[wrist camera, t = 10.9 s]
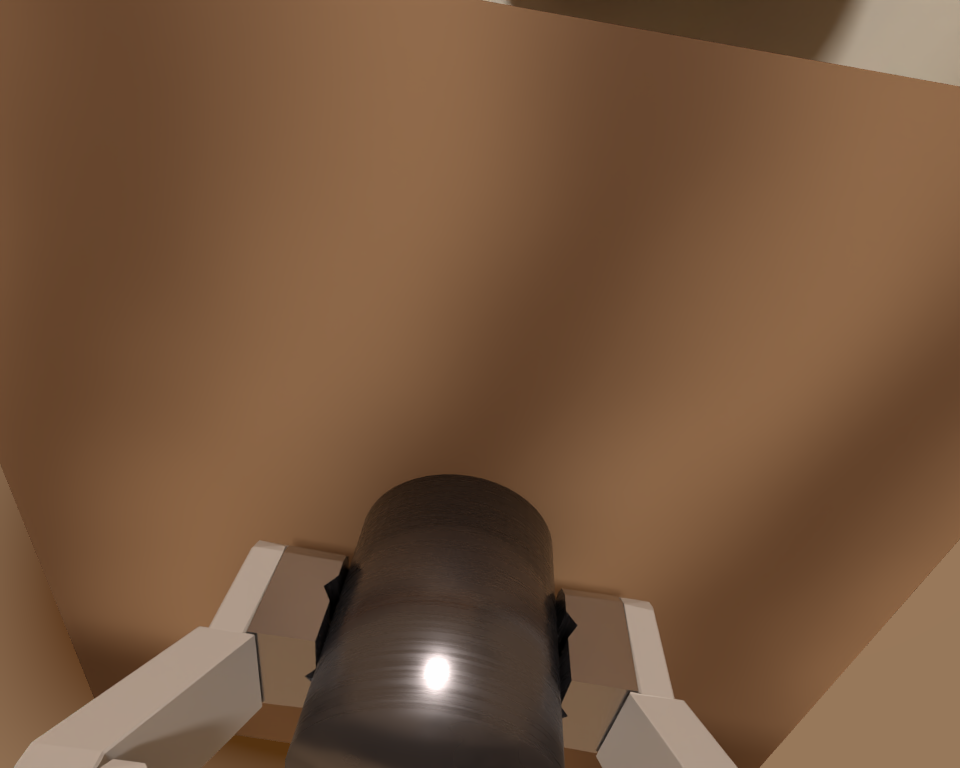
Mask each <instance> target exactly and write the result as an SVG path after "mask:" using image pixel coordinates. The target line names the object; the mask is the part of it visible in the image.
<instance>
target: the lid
mask: <svg viewBox="0 0 960 768" xmlns="http://www.w3.org/2000/svg"><path fill="white" fill-rule="evenodd" d="M0 464H1V467H2V469H3V472H4V474H5V477H6V479H7V482H8V484H9V487H10V489H11V492H12V494H13V497H14V499H15V502H16V504H17V507H18V509H19V512H20V514H21V517H22V519H23V521H24V524H25V527H26V529H27V532H28V534H29V537H30V539H31V542H32V544H33V547H34V549H35V552H36V554H37V557H38V559H39V561H40V564H41V567H42V569H43V572H44V574H45V577H46V579H47V582H48V584H49V586H50V589H51V591H52V594H53V596H54V599H55V602H56V604H57V607H58V609H59V611H60V614H61V616H62V619H63V621H64V624H65V626H66V629H67V631H68V634H69V636H70V639H71V641H72V644H73V646H74V649H75V651H76V654H77V656H78V658H79V661H80V664H81V666H82V669H83V671H84V674H85V676H86V679H87V681H88V684H89V686H90V689H91V691H92V694H93V696H94V699H95V698H96V697H98V696H99V695H101V694H102V693H103V692H105V691H106V690H108V689H109V688H111V687H112V686H114V685H115V684H116V683H118V682H119V681H121V680H122V679H124V678H125V677H126V676H128V675H129V674H131V673H132V672H134V671H135V670H137V669H138V668H139V667H141V666H142V665H144V664H145V663H147V662H148V661H150V660H151V659H152V658H154V657H155V656H157V655H158V654H160V653H161V652H162V651H164V650H165V649H167V648H168V647H170V646H171V645H173V644H174V643H175V642H177V641H178V640H180V639H181V638H183V637H184V636H186V635H187V634H188V633H190V632H191V631H193V630H194V629H196V628H197V627H198V626H204V627H209V626H210V624H211V622H212V620H213V618H214V616H215V615H216V613H217V611H218V609H219V607H220V605H221V603H222V602H223V600H224V598H225V596H226V594H227V592H228V590H229V589H230V587H231V585H232V583H233V581H234V579H235V578H236V576H237V574H238V572H239V570H240V568H241V566H242V565H243V563H244V561H245V559H246V557H247V555H248V554H249V552H250V550H251V548H252V547H253V546H254V545H255V544H256V543H257V542H258V541H259V540H261V541H267V542H273V543H279V544H285V545H291V546H297V547H302V548H307V549H313V550H318V551H324V552H329V553H334V554H340V555H345V556H349V570H348V573H347V576H346V579H345V582H344V585H343V588H342V591H341V594H340V597H339V600H338V603H337V606H336V609H335V612H334V615H333V618H332V621H331V624H330V627H329V630H328V633H327V636H326V639H325V642H324V645H323V648H322V651H321V654H320V657H319V660H318V663H317V666H316V669H315V672H314V675H313V678H312V681H311V684H310V687H309V690H308V693H307V696H306V699H305V702H304V705H303V708H300V707H292V706H283V705H275V704H267V703H262V707H261V708H260V709H259V710H258V711H257V712H256V713H255V714H254V715H253V716H252V717H251V718H250V719H249V721H248V722H247V723H246V724H245V725H244V726H243V727H242V728H241V729H240V730H239V731H238V732H237V733H236V734H235V735H240V736H246V737H253V738H260V739H266V740H273V741H280V742H287V743H291V744H290V747H289V750H288V753H287V756H286V759H285V768H602V767H601V765H600V763H599V761H598V759H597V757H596V755H597V753H592V752H587V751H581V750H576V749H570V748H565V747H564V741H563V723H562V705H561V688H560V670H559V652H558V635H557V617H556V597H557V594H558V592H559V591H560V590H561V588H564V589H571V590H578V591H585V592H592V593H599V594H606V595H613V596H617V597H621V598H628V599H635V600H641V601H647V602H650V604H651V605H652V607H653V609H654V613H655V617H656V622H657V626H658V630H659V634H660V639H661V643H662V647H663V651H664V656H665V660H666V664H667V668H668V673H669V677H670V681H671V685H672V690H673V694H674V698H675V699H680V700H684V701H685V702H686V704H687V705H688V706H689V707H690V709H691V710H692V711H693V712H694V714H695V715H696V716H697V717H698V719H699V720H700V721H701V722H702V724H703V725H704V726H705V727H706V729H707V730H708V731H709V732H710V734H711V735H712V736H713V737H714V739H715V740H716V741H717V742H718V744H719V745H720V746H721V747H722V749H723V750H724V751H725V752H726V754H727V755H728V756H729V757H730V759H731V760H732V761H733V762H734V764H735V765H736V766H737V767H738V768H759V767H760V766H761V765H762V764H763V763H764V762H765V761H766V759H767V758H768V757H769V756H770V755H771V754H772V753H773V751H774V750H775V749H776V748H777V747H778V746H779V745H780V743H781V742H782V741H783V740H784V739H785V738H786V737H787V736H788V734H789V733H790V732H791V731H792V730H793V729H794V728H795V726H796V725H797V724H798V723H799V722H800V721H801V719H802V718H803V717H804V716H805V715H806V714H807V713H808V712H809V710H810V709H811V708H812V707H813V706H814V705H815V704H816V702H817V701H818V700H819V699H820V698H821V697H822V696H823V695H824V693H825V692H826V691H827V690H828V689H829V688H830V686H831V685H832V684H833V683H834V682H835V681H836V680H837V679H838V677H839V676H840V675H841V674H842V673H843V672H844V671H845V669H846V668H847V667H848V666H849V665H850V664H851V663H852V661H853V660H854V659H855V658H856V657H857V656H858V655H859V653H860V652H861V651H862V650H863V649H864V648H865V646H866V645H867V644H868V643H869V642H870V641H871V640H872V639H873V638H874V636H875V635H876V634H877V633H878V632H879V631H880V630H881V628H882V627H883V626H884V625H885V624H886V623H887V622H888V620H889V619H890V618H891V617H892V616H893V615H894V614H895V612H896V611H897V610H898V609H899V608H900V607H901V606H902V604H903V603H904V602H905V601H906V600H907V599H908V598H909V596H910V595H911V594H912V593H913V592H914V591H915V590H916V589H917V587H918V586H919V585H920V584H921V583H922V582H923V580H924V579H925V578H926V577H927V576H928V575H929V574H930V572H931V571H932V570H933V569H934V568H935V567H936V566H937V565H938V563H939V562H940V561H941V560H942V559H943V558H944V557H945V555H946V554H947V553H948V552H949V551H950V550H951V549H952V548H953V546H954V545H955V544H956V543H957V542H958V541H959V539H960V87H959V86H953V85H948V84H942V83H937V82H931V81H926V80H920V79H915V78H909V77H904V76H898V75H892V74H887V73H881V72H876V71H870V70H865V69H859V68H854V67H848V66H843V65H837V64H831V63H826V62H820V61H815V60H809V59H804V58H798V57H793V56H787V55H782V54H776V53H770V52H765V51H759V50H754V49H748V48H743V47H737V46H732V45H726V44H721V43H715V42H710V41H704V40H698V39H693V38H687V37H682V36H676V35H671V34H665V33H660V32H654V31H649V30H643V29H637V28H632V27H626V26H621V25H615V24H610V23H604V22H599V21H593V20H588V19H582V18H576V17H571V16H565V15H560V14H554V13H549V12H543V11H538V10H532V9H527V8H521V7H516V6H510V5H504V4H499V3H493V2H488V1H482V0H0Z"/></svg>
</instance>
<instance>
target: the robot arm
mask: <svg viewBox="0 0 960 768" xmlns="http://www.w3.org/2000/svg"><path fill="white" fill-rule="evenodd" d="M348 570H349V556H345V555H340V554H334V553H329V552H324V551H318V550H313V549H307V548H302V547H297V546H291V545H285V544H279V543H273V542H267V541H261V540H259V541H258V542H257V543H256V544H255V545H254V546H253V547H252V548H251V550H250V552H249V554H248V555H247V557H246V559H245V561H244V563H243V565H242V566H241V568H240V570H239V572H238V574H237V576H236V578H235V579H234V581H233V583H232V585H231V587H230V589H229V590H228V592H227V594H226V596H225V598H224V600H223V602H222V603H221V605H220V607H219V609H218V611H217V613H216V615H215V616H214V618H213V620H212V622H211V624H210V626H209V627H204V626H198V627H197V628H196V629H194V630H193V631H191V632H190V633H188V634H187V635H186V636H184V637H183V638H181V639H180V640H178V641H177V642H175V643H174V644H173V645H171V646H170V647H168V648H167V649H165V650H164V651H162V652H161V653H160V654H158V655H157V656H155V657H154V658H152V659H151V660H150V661H148V662H147V663H145V664H144V665H142V666H141V667H139V668H138V669H137V670H135V671H134V672H132V673H131V674H129V675H128V676H126V677H125V678H124V679H122V680H121V681H119V682H118V683H116V684H115V685H114V686H112V687H111V688H109V689H108V690H106V691H105V692H103V693H102V694H101V695H99V696H98V697H96V698H95V699H94V700H92V701H91V702H89V703H88V704H86V705H85V706H83V707H82V708H80V709H79V710H78V711H76V712H75V713H73V714H72V715H71V716H69V717H68V718H66V719H65V720H63V721H62V722H60V723H59V724H57V725H56V726H55V727H53V728H52V729H50V730H49V731H48V732H46V733H45V734H43V735H42V736H40V737H39V738H37V739H36V740H34V741H33V742H32V743H31V744H30V745H29V747H28V748H27V749H26V751H25V752H24V754H23V755H22V757H21V758H20V759H19V761H18V762H17V764H16V765H15V766H14V768H202V767H203V766H204V765H205V764H206V762H208V761H209V760H210V759H211V758H212V757H213V756H214V755H215V754H216V753H217V751H219V750H220V749H221V748H222V746H223V745H224V744H226V743H227V742H228V741H229V740H230V738H232V737H233V736H234V735H235V734H236V733H237V732H238V731H239V730H240V729H241V728H242V727H243V726H244V725H245V724H246V723H247V722H248V721H249V719H250V718H251V717H252V716H253V715H254V714H255V713H256V712H257V711H258V710H259V709H260V708H261V707H262V703H267V704H275V705H283V706H292V707H300V708H303V705H304V702H305V699H306V696H307V693H308V690H309V687H310V684H311V681H312V678H313V675H314V672H315V669H316V666H317V663H318V660H319V657H320V654H321V651H322V648H323V645H324V642H325V639H326V636H327V633H328V630H329V627H330V624H331V621H332V618H333V615H334V612H335V609H336V606H337V603H338V600H339V597H340V594H341V591H342V588H343V585H344V582H345V579H346V576H347V573H348ZM556 617H557V635H558V652H559V670H560V688H561V705H562V723H563V741H564V747H565V748H570V749H576V750H581V751H587V752H592V753H597V755H596V757H597V759H598V761H599V763H600V765H601V767H602V768H738V767H737V766H736V765H735V764H734V762H733V761H732V760H731V759H730V757H729V756H728V755H727V754H726V752H725V751H724V750H723V749H722V747H721V746H720V745H719V744H718V742H717V741H716V740H715V739H714V737H713V736H712V735H711V734H710V732H709V731H708V730H707V729H706V727H705V726H704V725H703V724H702V722H701V721H700V720H699V719H698V717H697V716H696V715H695V714H694V712H693V711H692V710H691V709H690V707H689V706H688V705H687V704H686V702H685V701H684V700H680V699H675V698H674V694H673V690H672V685H671V681H670V677H669V673H668V668H667V664H666V660H665V656H664V651H663V647H662V643H661V639H660V634H659V630H658V626H657V622H656V617H655V613H654V609H653V607H652V605H651V604H650V602H647V601H641V600H635V599H628V598H621V597H617V596H613V595H606V594H599V593H592V592H585V591H578V590H571V589H564V588H561V590H560V591H559V592H558V594H557V597H556Z"/></svg>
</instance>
